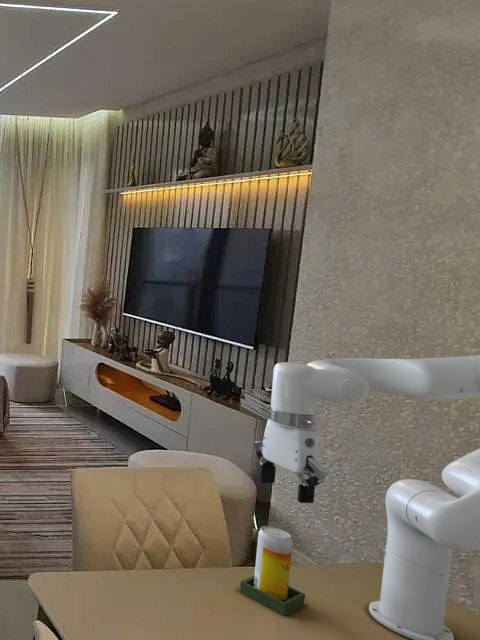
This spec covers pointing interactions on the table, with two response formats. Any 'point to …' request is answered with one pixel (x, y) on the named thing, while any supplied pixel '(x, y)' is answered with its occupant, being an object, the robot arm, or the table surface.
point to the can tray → (283, 607)
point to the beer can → (273, 562)
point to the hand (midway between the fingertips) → (285, 492)
